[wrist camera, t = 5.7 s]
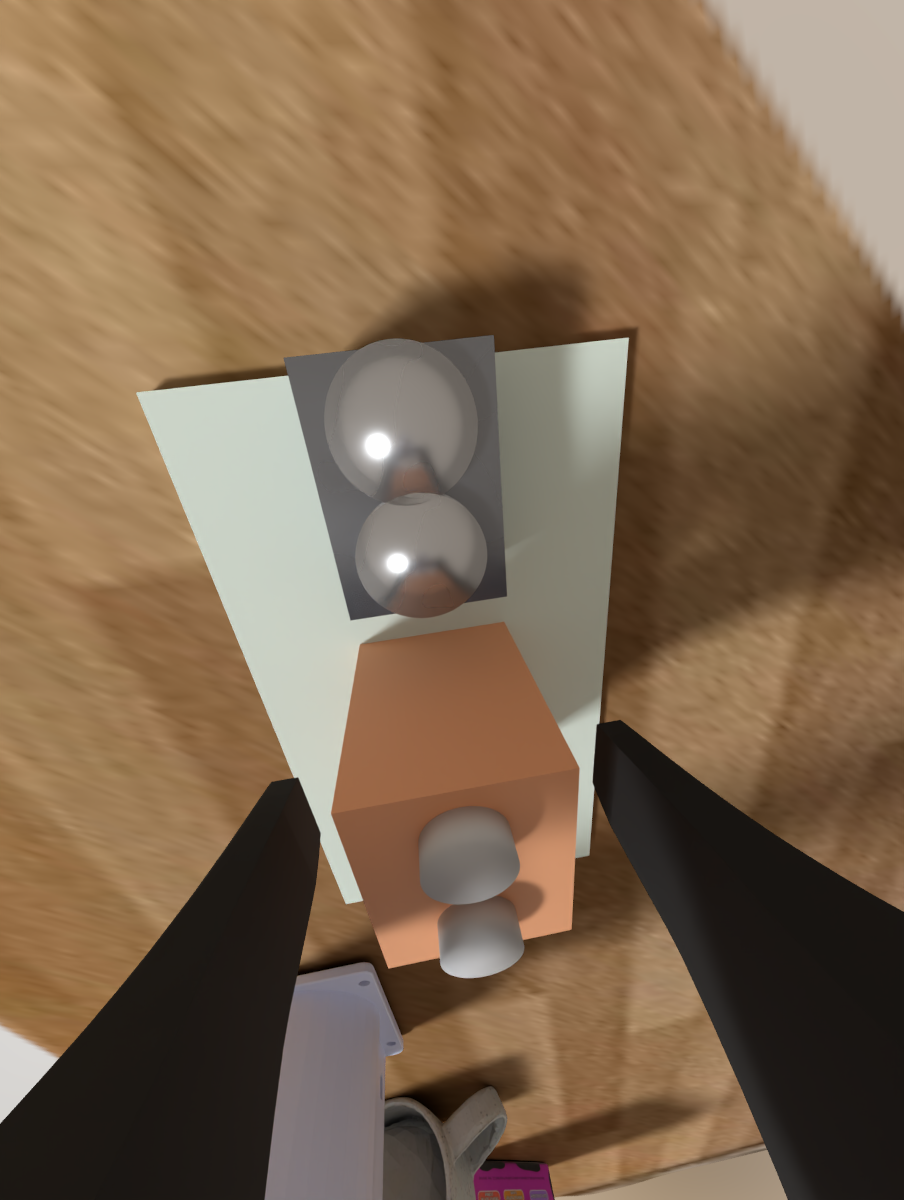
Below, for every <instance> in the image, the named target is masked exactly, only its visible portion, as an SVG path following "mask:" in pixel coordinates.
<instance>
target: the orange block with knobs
mask: <svg viewBox="0 0 904 1200" xmlns="http://www.w3.org/2000/svg"><path fill="white" fill-rule="evenodd" d="M579 772H580V768H579V766H578V764H577V762H576V760H575V758H574V756H573V754H572V752H571V750H570V748H569V746H568V744H567V742H566V740H565V738H564V737H563V735H562V733H561V731H560V729H559V727H558V725H557V723H556V721H555V719H554V717H553V715H552V713H551V711H550V709H549V707H548V706H547V704H546V702H545V700H544V698H543V696H542V694H541V692H540V690H539V688H538V686H537V684H536V682H535V680H534V678H533V676H532V674H531V673H530V671H529V669H528V667H527V665H526V663H525V661H524V659H523V657H522V655H521V653H520V651H519V649H518V647H517V645H516V643H515V642H514V640H513V638H512V636H511V634H510V632H509V630H508V628H507V626H506V624H505V622H499V623H493V624H487V625H480V626H474V627H468V628H461V629H455V630H448V631H442V632H436V633H429V634H423V635H417V636H410V637H404V638H398V639H391V640H385V641H379V642H372V643H366V644H360V646H359V652H358V658H357V664H356V669H355V675H354V681H353V687H352V693H351V699H350V705H349V711H348V716H347V722H346V728H345V734H344V740H343V746H342V752H341V757H340V763H339V769H338V775H337V781H336V787H335V793H334V798H333V804H332V810H331V816H332V818H333V821H334V824H335V826H336V829H337V832H338V835H339V837H340V840H341V843H342V845H343V848H344V851H345V853H346V856H347V859H348V861H349V864H350V867H351V869H352V872H353V875H354V877H355V880H356V883H357V885H358V888H359V891H360V893H361V896H362V899H363V902H364V904H365V907H366V910H367V912H368V915H369V918H370V920H371V923H372V926H373V928H374V931H375V934H376V936H377V939H378V942H379V944H380V947H381V950H382V952H383V955H384V958H385V960H386V963H387V966H388V969H389V968H394V967H398V966H403V965H408V964H412V963H417V962H422V961H427V960H431V959H436V958H440V965H441V967H442V969H443V970H444V971H445V972H446V973H448V974H450V975H452V976H455V977H460V978H478V977H484V976H489V975H492V974H495V973H498V972H501V971H503V970H505V969H507V968H509V967H510V966H512V965H513V964H514V963H516V962H517V961H518V960H519V959H520V958H521V956H522V954H523V952H524V943H523V940H525V939H530V938H535V937H540V936H544V935H549V934H554V933H558V932H563V931H568V930H572V911H573V891H574V871H575V851H576V831H577V812H578V792H579Z"/></svg>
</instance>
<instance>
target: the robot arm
mask: <svg viewBox="0 0 904 1200" xmlns="http://www.w3.org/2000/svg"><path fill="white" fill-rule="evenodd" d="M592 783H593V785H594V787H595V790H596V792H597V795H598V797H599V800H600V802H601V804H602V807H603V809H604V811H605V814H606V816H607V818H608V821H609V823H610V825H611V827H612V829H613V831H614V833H615V835H616V836H617V838H618V840H619V842H620V844H621V846H622V847H623V849H624V851H625V853H626V855H627V857H628V858H629V860H630V862H631V864H632V866H633V867H634V869H635V871H636V873H637V875H638V877H639V878H640V880H641V882H642V884H643V886H644V887H645V889H646V891H647V893H648V895H649V896H650V898H651V900H652V902H653V904H654V905H655V907H656V909H657V911H658V913H659V914H660V916H661V918H662V920H663V922H664V923H665V925H666V927H667V929H668V931H669V933H670V935H671V936H672V938H673V940H674V942H675V944H676V946H677V948H678V950H679V952H680V954H681V956H682V958H683V960H684V962H685V964H686V967H687V969H688V971H689V973H690V975H691V977H692V980H693V982H694V984H695V986H696V988H697V990H698V993H699V995H700V997H701V999H702V1001H703V1003H704V1006H705V1008H706V1010H707V1012H708V1014H709V1016H710V1019H711V1021H712V1023H713V1025H714V1028H715V1030H716V1032H717V1034H718V1037H719V1039H720V1041H721V1044H722V1046H723V1048H724V1050H725V1053H726V1055H727V1057H728V1059H729V1062H730V1064H731V1066H732V1068H733V1071H734V1073H735V1075H736V1077H737V1080H738V1082H739V1084H740V1086H741V1089H742V1091H743V1093H744V1096H745V1098H746V1101H747V1103H748V1105H749V1108H750V1110H751V1112H752V1115H753V1117H754V1119H755V1122H756V1124H757V1126H758V1129H759V1131H760V1134H761V1136H762V1138H763V1141H764V1143H765V1145H766V1148H767V1150H768V1152H769V1155H770V1157H771V1159H772V1162H773V1164H774V1166H775V1169H776V1171H777V1173H778V1176H779V1179H780V1181H781V1183H782V1186H783V1188H784V1191H785V1193H786V1196H787V1198H788V1200H904V912H903V911H901V910H899V909H897V908H896V907H894V906H892V905H890V904H888V903H887V902H885V901H883V900H881V899H879V898H878V897H876V896H874V895H872V894H871V893H869V892H867V891H866V890H864V889H862V888H860V887H859V886H857V885H855V884H854V883H852V882H850V881H848V880H847V879H845V878H843V877H842V876H840V875H838V874H837V873H835V872H834V871H832V870H830V869H829V868H827V867H825V866H824V865H822V864H821V863H819V862H817V861H816V860H814V859H813V858H811V857H809V856H808V855H806V854H804V853H803V852H801V851H800V850H798V849H796V848H795V847H793V846H792V845H790V844H789V843H787V842H785V841H784V840H782V839H781V838H779V837H778V836H776V835H775V834H773V833H772V832H770V831H769V830H767V829H766V828H764V827H763V826H761V825H760V824H759V823H757V822H756V821H754V820H753V819H751V818H750V817H748V816H747V815H745V814H744V813H742V812H741V811H740V810H738V809H737V808H735V807H734V806H733V805H731V804H730V803H728V802H727V801H726V800H724V799H723V798H721V797H720V796H719V795H717V794H716V793H715V792H713V791H712V790H711V789H709V788H708V787H707V786H705V785H704V784H702V783H701V782H700V781H698V780H697V779H696V778H694V777H693V776H692V775H690V774H689V773H688V772H686V771H685V770H684V769H683V768H681V767H680V766H679V765H677V764H676V763H675V762H673V761H672V760H671V759H670V758H668V757H667V756H666V755H664V754H663V753H662V752H661V751H659V750H658V749H657V748H656V747H654V746H653V745H652V744H651V743H649V742H648V741H647V740H645V739H644V738H643V737H642V736H640V735H639V734H638V733H637V732H635V731H634V730H633V729H632V728H630V727H629V726H628V725H626V724H625V723H624V722H623V721H621V720H618V721H612V722H606V723H601V724H597V726H596V740H595V753H594V767H593V781H592ZM320 837H321V832H320V830H319V827H318V825H317V823H316V820H315V818H314V815H313V813H312V810H311V808H310V805H309V803H308V800H307V798H306V795H305V793H304V790H303V788H302V785H301V783H300V780H299V778H298V777H297V778H291V779H286V780H280V781H275V782H271V784H270V785H269V786H268V787H267V789H266V790H265V792H264V793H263V795H262V796H261V798H260V799H259V800H258V802H257V803H256V805H255V806H254V808H253V809H252V811H251V812H250V814H249V815H248V817H247V818H246V820H245V821H244V823H243V824H242V825H241V827H240V828H239V830H238V831H237V833H236V834H235V836H234V837H233V839H232V840H231V841H230V843H229V844H228V846H227V847H226V849H225V850H224V851H223V853H222V854H221V856H220V857H219V858H218V860H217V861H216V863H215V864H214V865H213V867H212V868H211V870H210V871H209V872H208V874H207V875H206V877H205V878H204V879H203V881H202V882H201V884H200V885H199V886H198V888H197V889H196V891H195V892H194V893H193V895H192V896H191V897H190V899H189V900H188V901H187V903H186V904H185V905H184V907H183V908H182V909H181V911H180V912H179V913H178V914H177V916H176V917H175V918H174V920H173V921H172V922H171V924H170V925H169V926H168V928H167V929H166V930H165V931H164V933H163V934H162V935H161V937H160V938H159V939H158V941H157V942H156V943H155V945H154V946H153V947H152V948H151V950H150V951H149V952H148V954H147V955H146V956H145V957H144V959H143V960H142V961H141V962H140V963H139V965H138V966H137V967H136V968H135V970H134V971H133V972H132V973H131V975H130V976H129V977H128V978H127V980H126V981H125V982H124V983H123V984H122V986H121V987H120V988H119V989H118V991H117V992H116V993H115V994H114V995H113V996H112V998H111V999H110V1000H109V1001H108V1002H107V1004H106V1005H105V1006H104V1007H103V1008H102V1010H101V1011H100V1012H99V1013H98V1014H97V1015H96V1017H95V1018H94V1019H93V1020H92V1021H91V1023H90V1024H89V1025H88V1026H87V1027H86V1028H85V1030H84V1031H83V1032H82V1033H81V1034H80V1035H79V1036H78V1038H77V1039H76V1040H75V1041H74V1042H73V1043H72V1044H71V1046H70V1047H69V1048H68V1049H67V1050H66V1051H65V1052H64V1053H63V1055H62V1056H61V1057H60V1058H59V1059H58V1060H57V1061H56V1062H55V1064H54V1065H53V1066H52V1067H51V1068H50V1069H49V1071H48V1072H47V1073H46V1074H45V1075H44V1076H43V1077H42V1078H41V1079H40V1081H39V1082H38V1083H37V1084H36V1085H35V1086H34V1087H33V1088H32V1089H31V1090H30V1092H29V1093H28V1094H27V1095H26V1096H25V1097H24V1098H23V1099H22V1100H21V1102H20V1103H19V1104H18V1105H17V1106H16V1107H15V1108H14V1109H13V1110H12V1111H11V1113H10V1114H9V1115H8V1116H7V1117H6V1118H5V1119H4V1120H3V1121H2V1122H1V1124H0V1200H383V1153H384V1105H385V1057H386V1056H390V1055H395V1054H398V1053H400V1052H402V1050H403V1038H402V1035H401V1033H400V1030H399V1028H398V1026H397V1023H396V1021H395V1018H394V1016H393V1013H392V1011H391V1008H390V1006H389V1003H388V1001H387V998H386V996H385V994H384V991H383V989H382V986H381V984H380V981H379V979H378V976H377V974H376V971H375V969H374V966H373V965H372V964H371V963H369V962H360V963H356V964H351V965H346V966H341V967H337V968H332V969H327V970H322V971H318V972H313V973H308V974H303V975H299V976H297V974H298V969H299V964H300V960H301V955H302V950H303V945H304V940H305V935H306V931H307V926H308V921H309V916H310V911H311V906H312V901H313V896H314V891H315V885H316V878H317V869H318V860H319V848H320Z"/></svg>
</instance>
